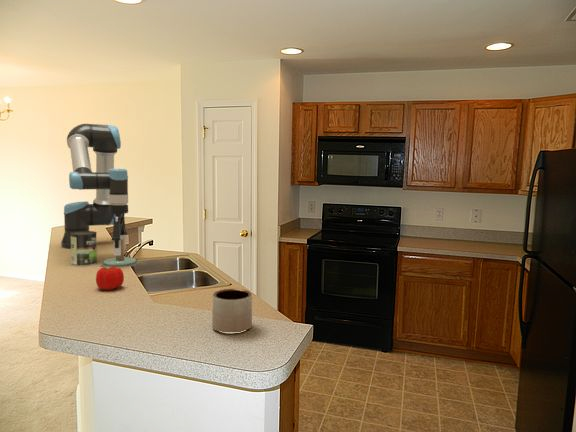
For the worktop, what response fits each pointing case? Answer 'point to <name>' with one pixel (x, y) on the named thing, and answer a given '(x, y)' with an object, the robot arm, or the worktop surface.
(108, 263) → the cover
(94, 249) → the coffee can
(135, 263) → the mat
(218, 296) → the planter
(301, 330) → the worktop surface
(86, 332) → the worktop surface
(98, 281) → the tomato
